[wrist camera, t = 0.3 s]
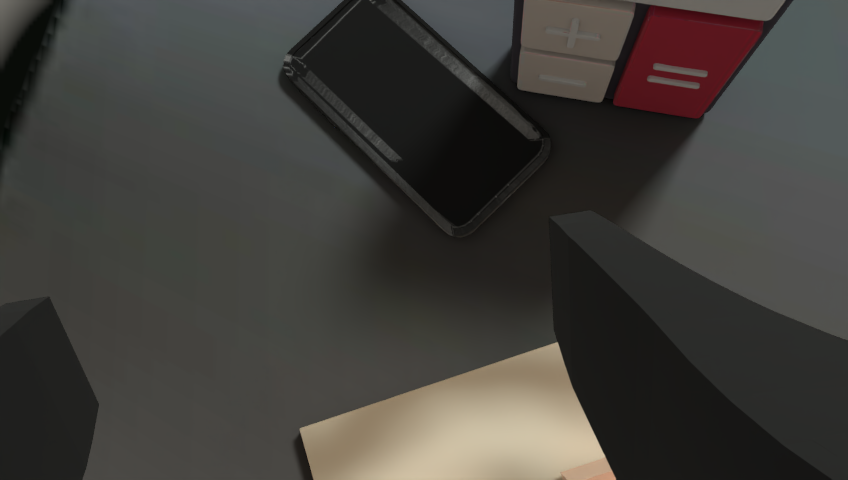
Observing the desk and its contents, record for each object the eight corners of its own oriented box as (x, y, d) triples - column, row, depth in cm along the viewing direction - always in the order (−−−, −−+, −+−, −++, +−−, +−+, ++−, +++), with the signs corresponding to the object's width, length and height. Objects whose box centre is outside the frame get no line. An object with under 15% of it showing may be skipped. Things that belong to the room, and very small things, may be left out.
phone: (372, -26, 44) (560, 143, 40) (375, -16, 45) (558, 150, 42) (273, 65, 43) (456, 244, 40) (279, 73, 44) (457, 248, 41)
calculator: (506, 95, 42) (514, -66, 27) (520, 26, 43) (535, -166, 28) (705, 128, 41) (825, -23, 26) (716, 56, 42) (838, -130, 27)
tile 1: (719, 454, 36) (762, 465, 31) (563, 506, 37) (576, 527, 31) (706, 422, 37) (746, 427, 31) (551, 474, 37) (563, 488, 31)
